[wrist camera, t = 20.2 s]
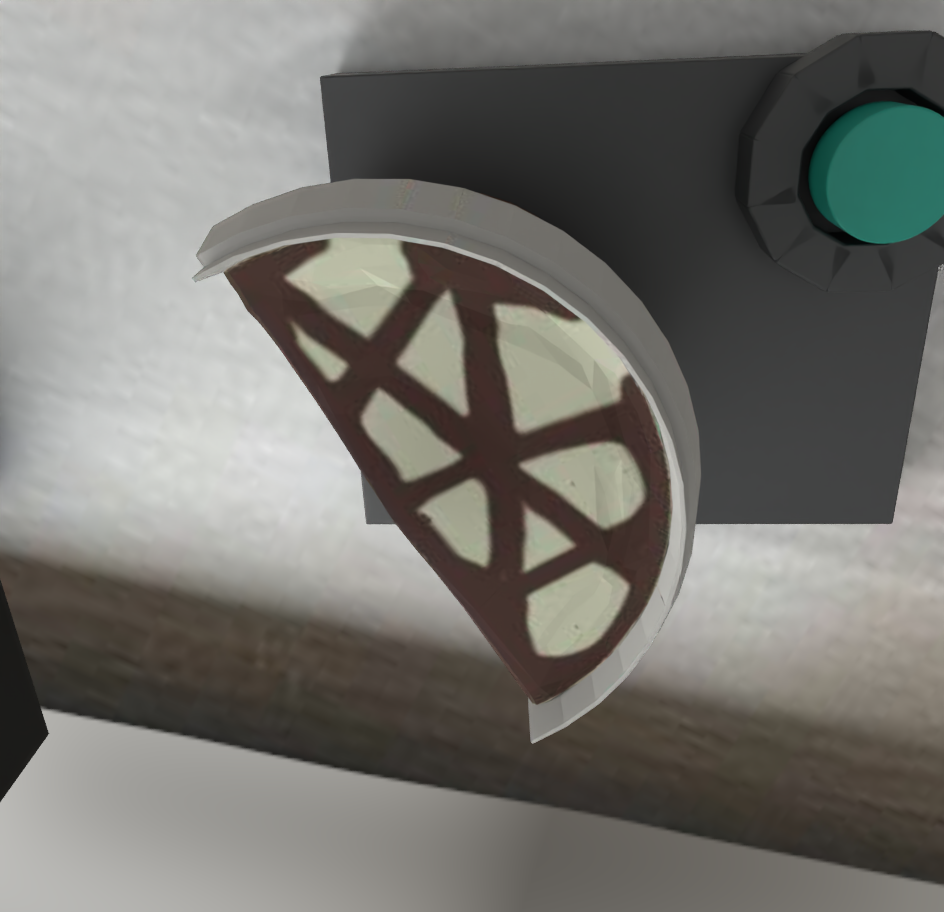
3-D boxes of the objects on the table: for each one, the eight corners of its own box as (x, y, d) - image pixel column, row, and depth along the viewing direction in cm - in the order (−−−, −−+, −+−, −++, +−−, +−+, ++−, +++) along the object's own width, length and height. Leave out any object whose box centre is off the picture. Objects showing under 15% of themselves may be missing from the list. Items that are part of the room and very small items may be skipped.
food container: (728, 434, 26) (829, 646, 17) (543, 524, 28) (545, 762, 19) (514, 33, 22) (494, 31, 13) (312, 168, 24) (170, 250, 15)
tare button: (948, 98, 21) (977, 102, 19) (926, 229, 22) (952, 242, 21) (815, 103, 21) (835, 108, 20) (800, 232, 22) (818, 246, 21)
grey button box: (967, 27, 23) (1036, 26, 20) (886, 495, 29) (929, 552, 25) (333, 55, 24) (302, 58, 21) (376, 496, 30) (356, 551, 27)
